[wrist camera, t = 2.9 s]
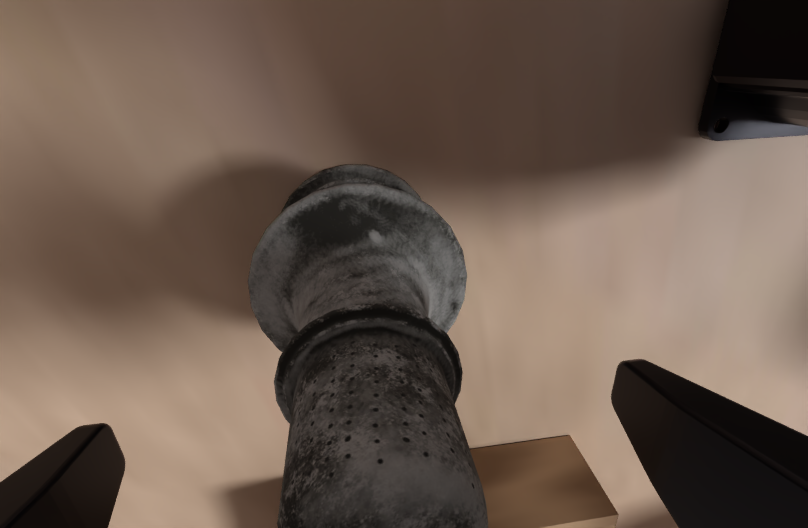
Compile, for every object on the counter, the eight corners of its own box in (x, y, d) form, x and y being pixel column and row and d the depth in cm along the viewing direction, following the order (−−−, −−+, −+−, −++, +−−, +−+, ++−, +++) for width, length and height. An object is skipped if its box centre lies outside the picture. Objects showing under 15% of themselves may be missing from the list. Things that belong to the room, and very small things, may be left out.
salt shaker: (371, 339, 17) (431, 839, 6) (232, 258, 15) (-54, 809, 4) (473, 224, 15) (793, 615, 5) (337, 114, 13) (337, 369, 2)
